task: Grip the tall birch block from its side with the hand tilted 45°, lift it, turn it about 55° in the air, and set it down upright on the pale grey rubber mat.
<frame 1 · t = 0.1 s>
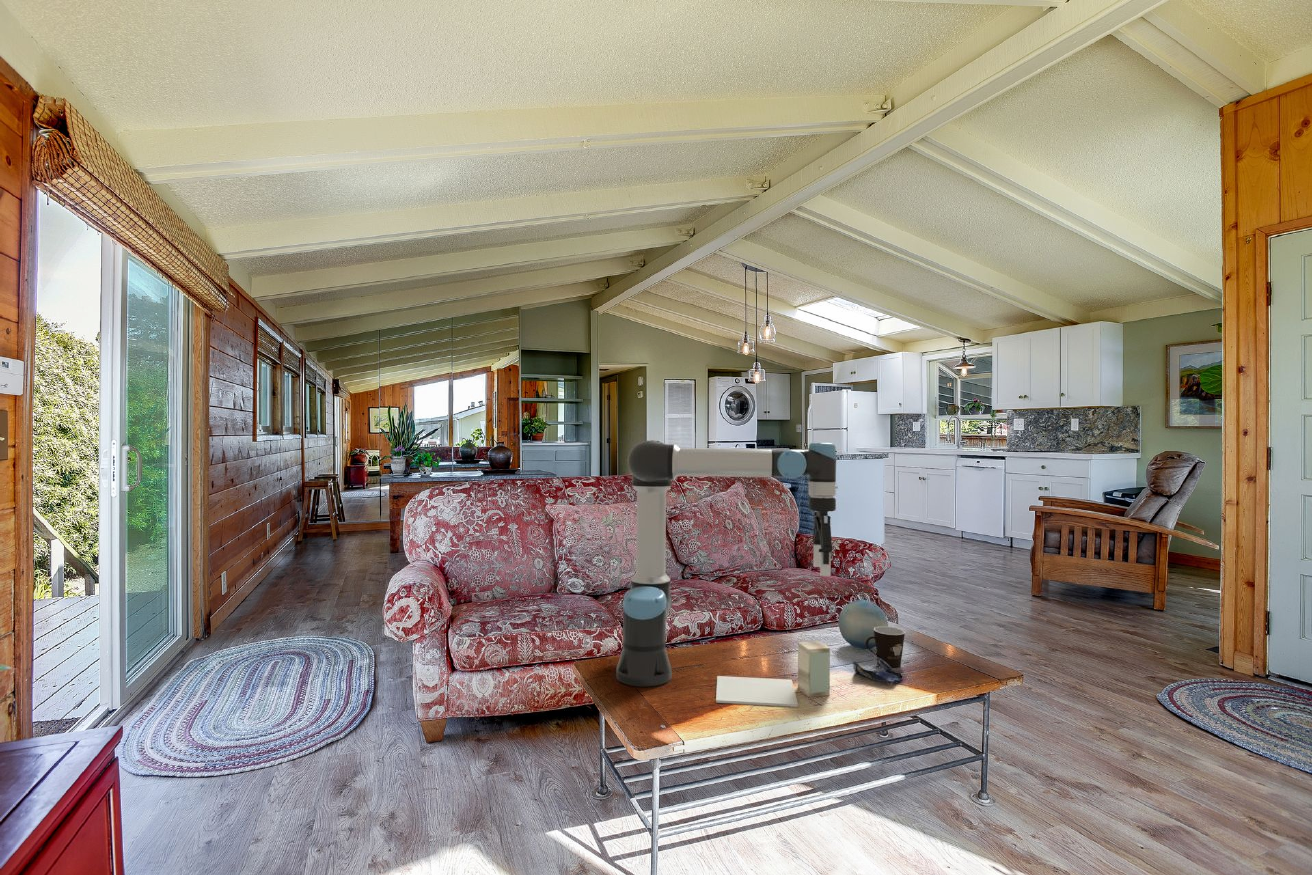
hand: (821, 571, 188), 28 cm above the table, fingers open, 13 cm apart
birch block: (813, 691, 171), on the table
snack package: (878, 680, 181), on the table
mat: (755, 691, 170), on the table
coffee mug: (883, 665, 192), on the table
decorative ball: (862, 648, 208), on the table
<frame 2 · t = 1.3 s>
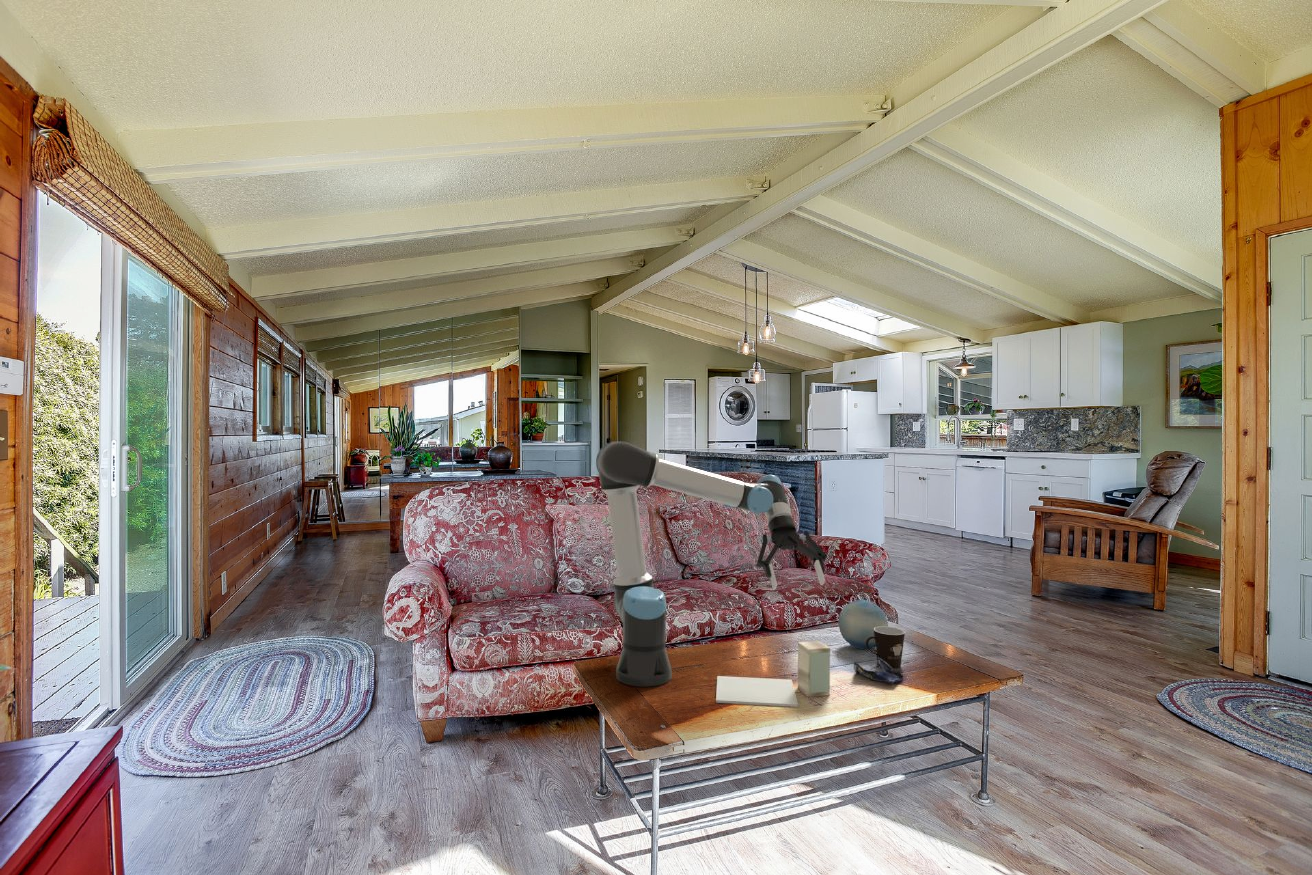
hand: (799, 585, 181), 25 cm above the table, fingers open, 13 cm apart
nothing on the table moved.
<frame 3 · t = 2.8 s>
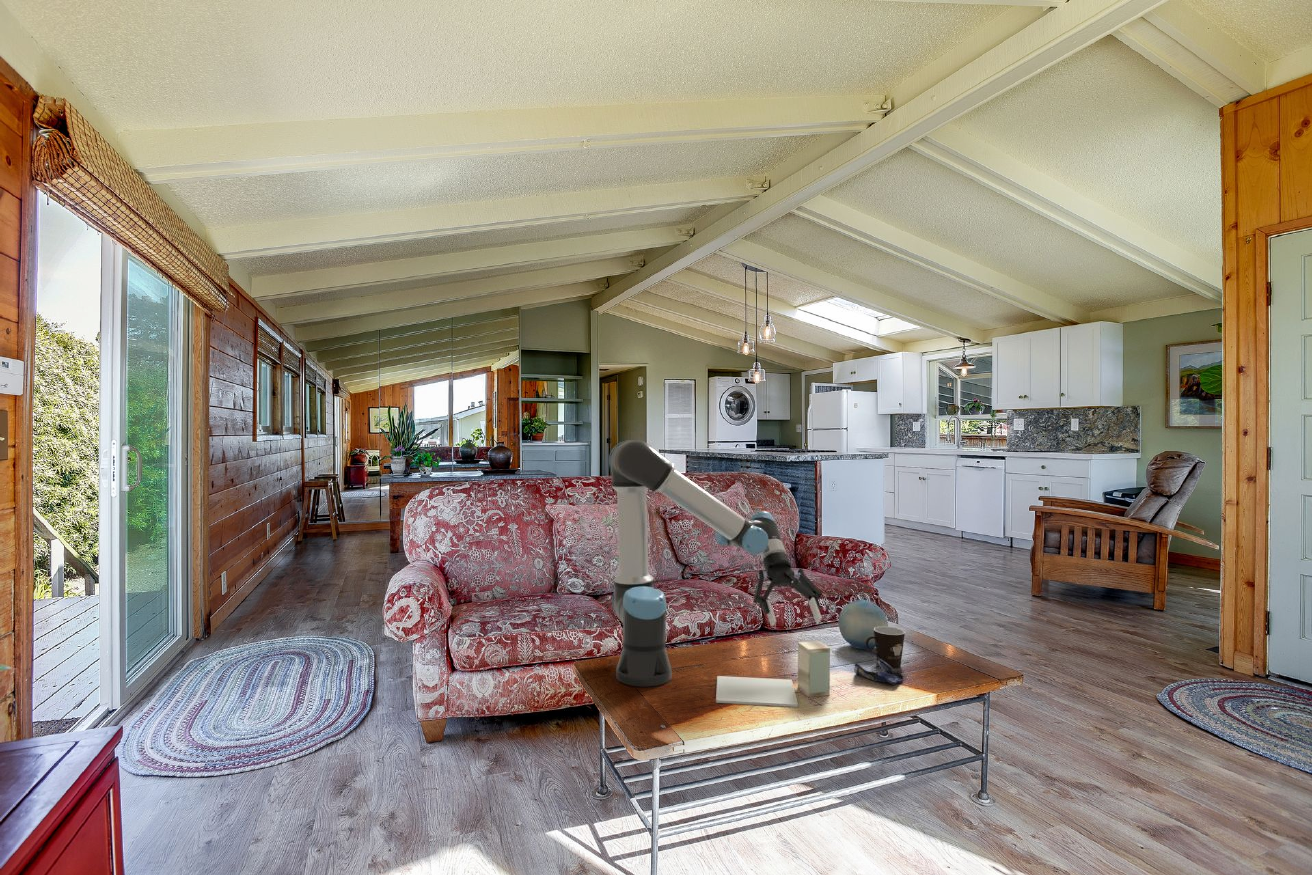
hand: (796, 622, 182), 15 cm above the table, fingers open, 13 cm apart
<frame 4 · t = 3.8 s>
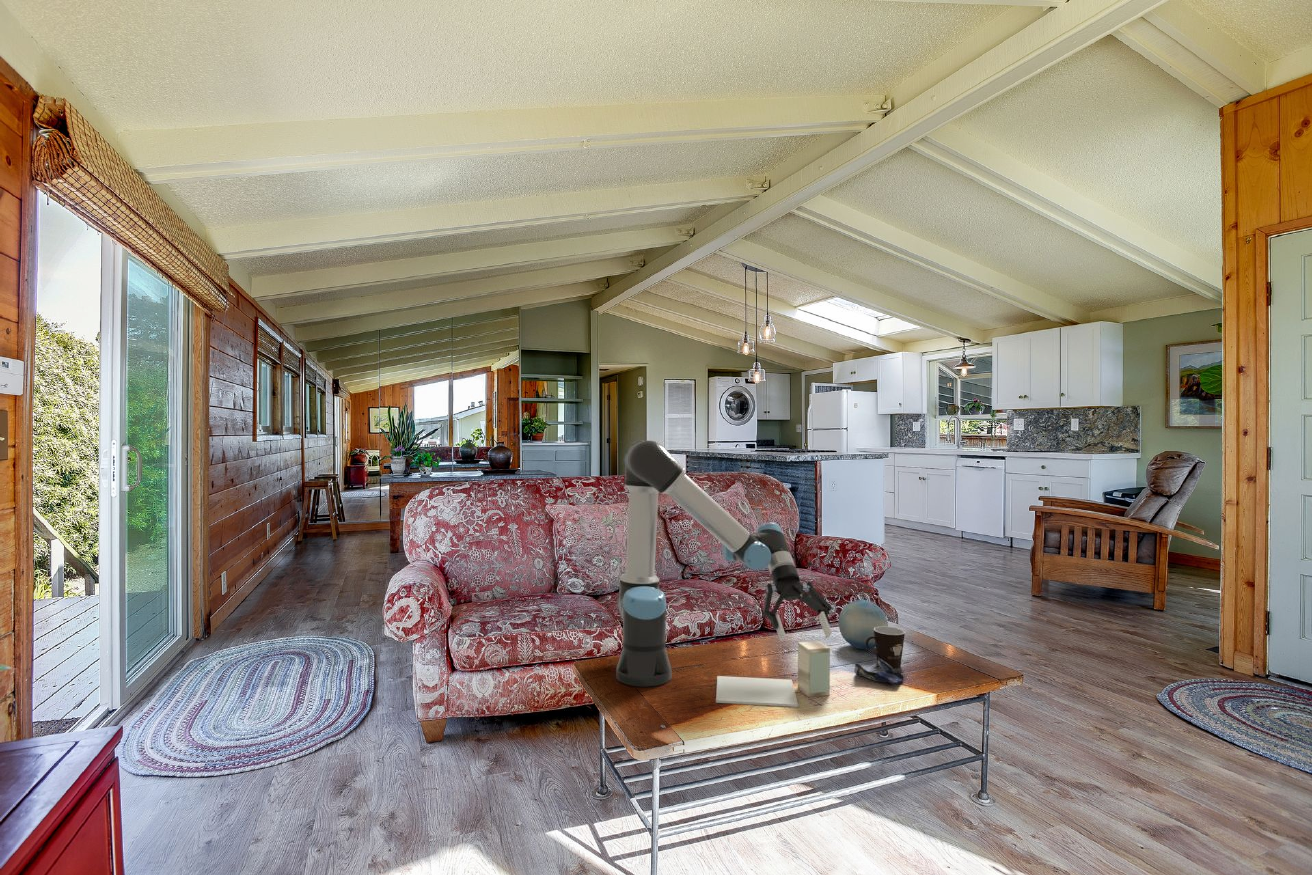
hand: (806, 637, 178), 12 cm above the table, fingers open, 13 cm apart
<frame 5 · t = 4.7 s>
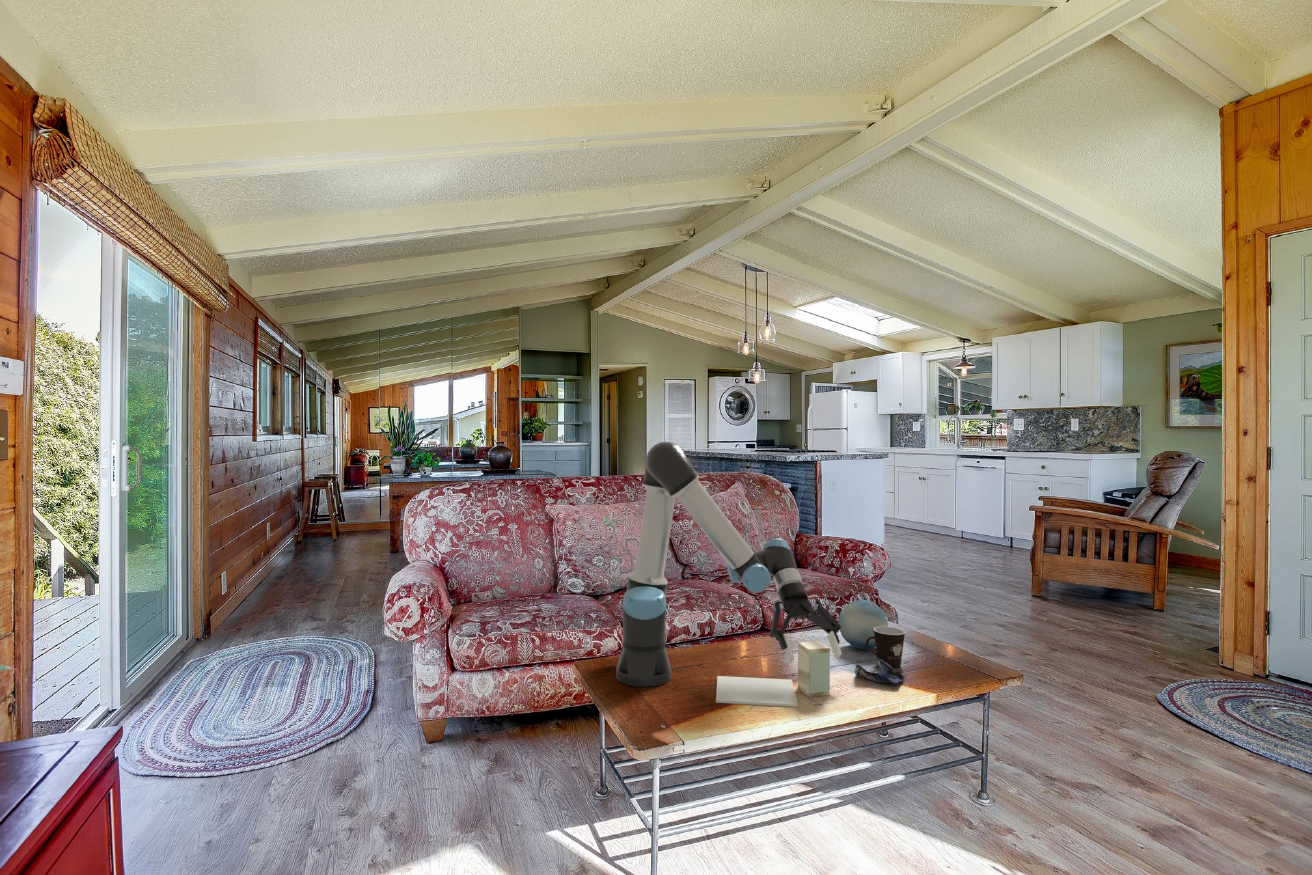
hand: (815, 658, 173), 8 cm above the table, fingers open, 13 cm apart
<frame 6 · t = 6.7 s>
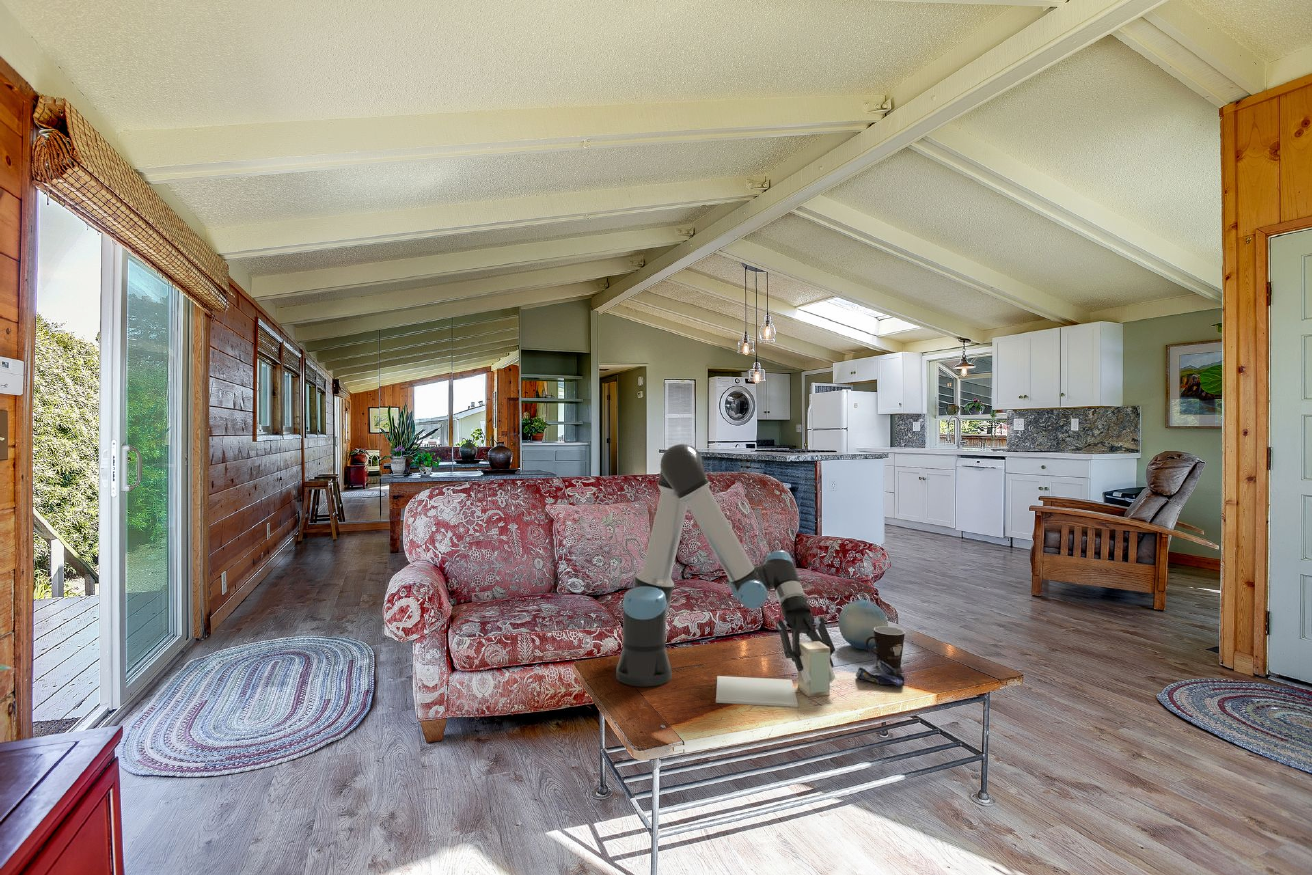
hand: (820, 680, 168), 4 cm above the table, fingers closed on birch block, 6 cm apart
birch block: (813, 691, 171), on the table, touching gripper
snack package: (882, 684, 178), on the table
everything else where it was.
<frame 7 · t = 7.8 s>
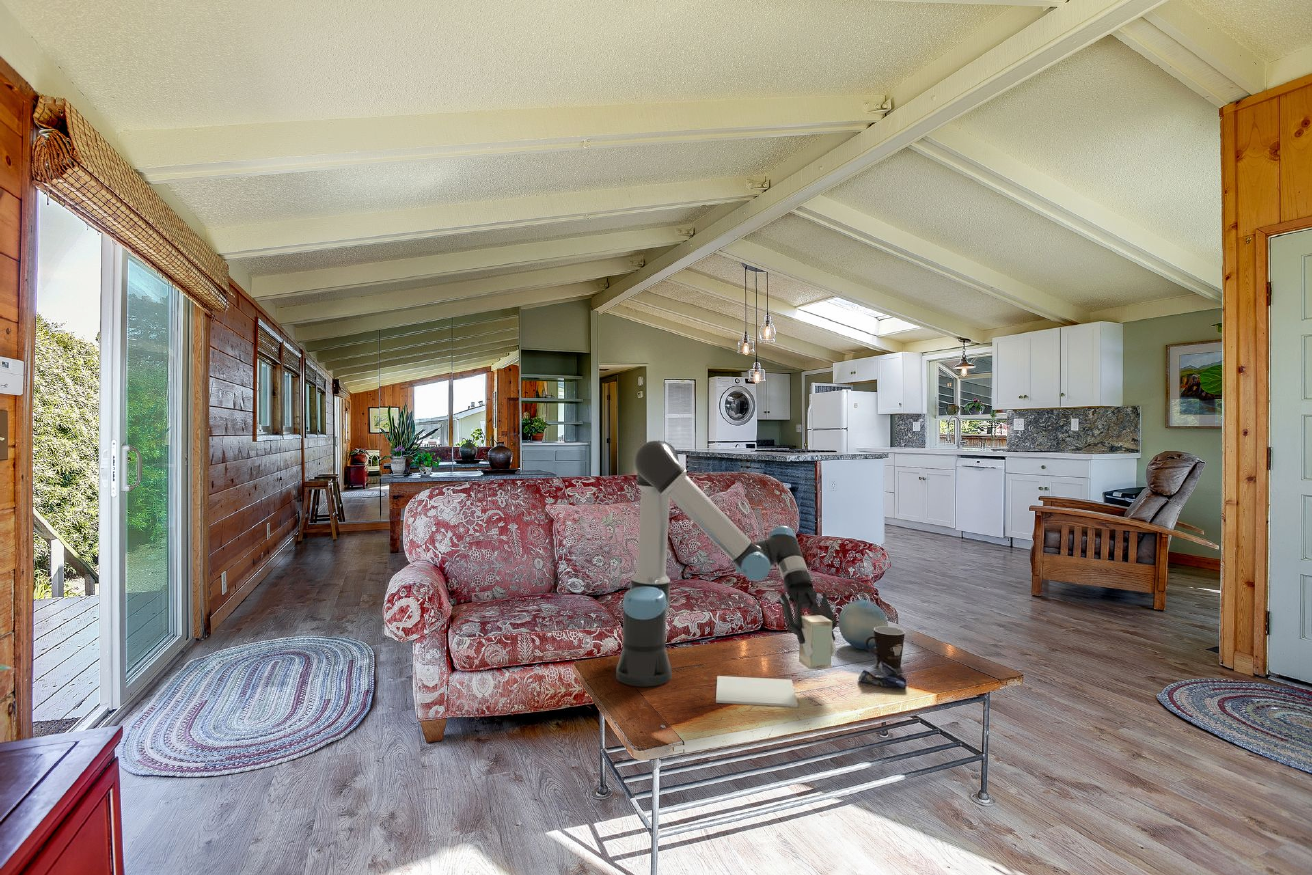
hand: (821, 653, 168), 11 cm above the table, fingers closed on birch block, 6 cm apart
birch block: (814, 664, 171), point 7 cm above the table, touching gripper
snack package: (884, 686, 177), on the table
everything else where it was.
when the fingers open (6 cm above the table, at t = 12.8 s): birch block drops 1 cm, resting on mat.
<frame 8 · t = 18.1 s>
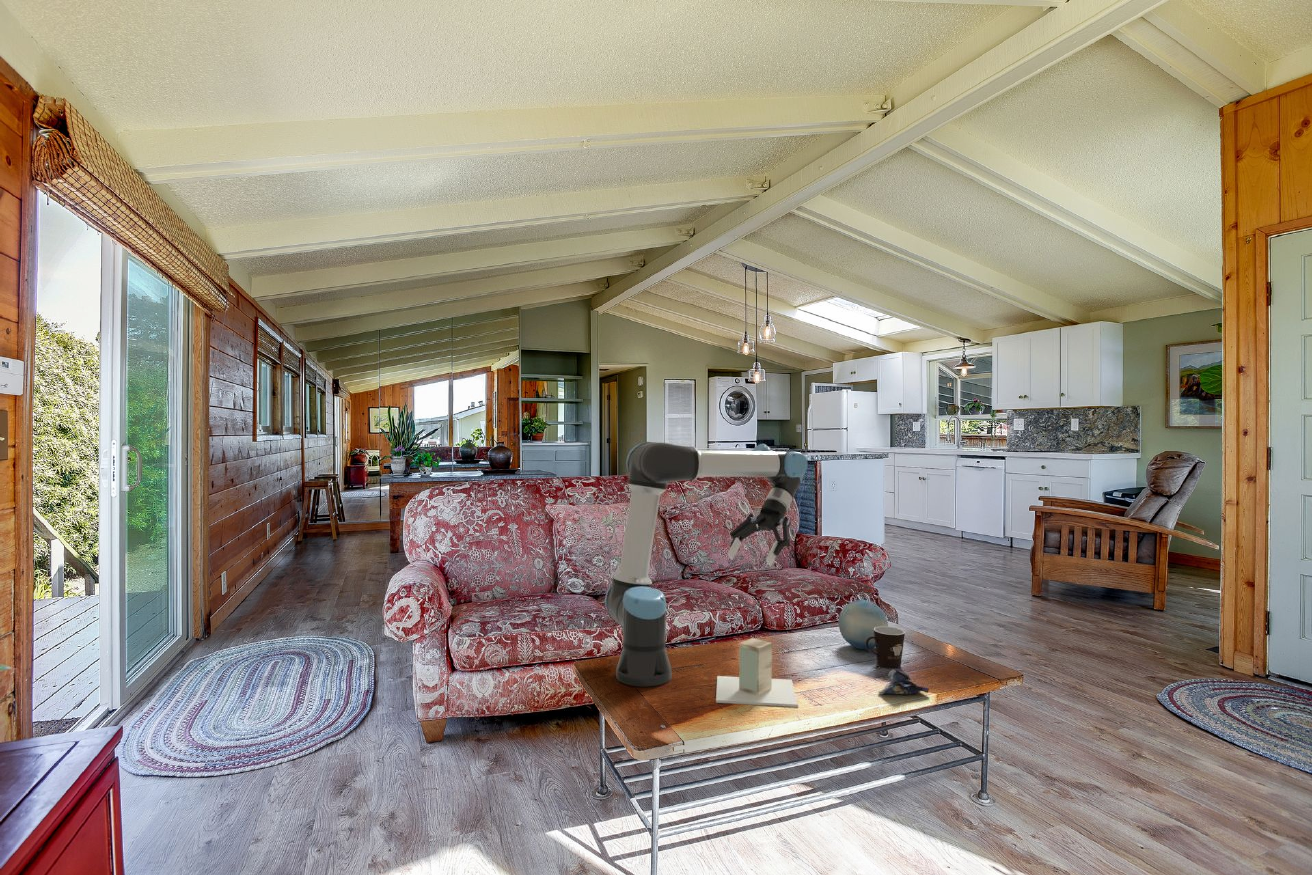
hand: (748, 560, 195), 30 cm above the table, fingers open, 13 cm apart
birch block: (755, 689, 170), point 1 cm above the table, touching mat
snack package: (901, 693, 171), on the table
everything else where it was.
at the end: birch block inside the target area on the mat (0.0 cm from its centre), point 0.6 cm above the mat's base; birch block tilted 0°; the gripper is holding nothing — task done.
